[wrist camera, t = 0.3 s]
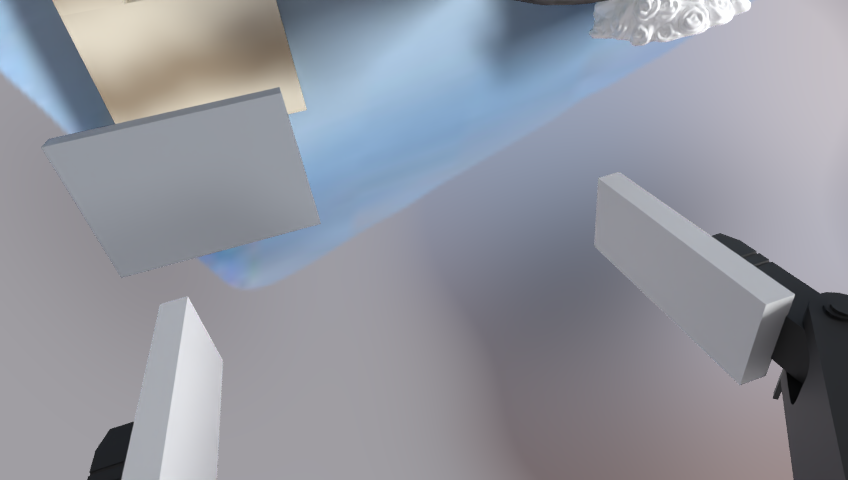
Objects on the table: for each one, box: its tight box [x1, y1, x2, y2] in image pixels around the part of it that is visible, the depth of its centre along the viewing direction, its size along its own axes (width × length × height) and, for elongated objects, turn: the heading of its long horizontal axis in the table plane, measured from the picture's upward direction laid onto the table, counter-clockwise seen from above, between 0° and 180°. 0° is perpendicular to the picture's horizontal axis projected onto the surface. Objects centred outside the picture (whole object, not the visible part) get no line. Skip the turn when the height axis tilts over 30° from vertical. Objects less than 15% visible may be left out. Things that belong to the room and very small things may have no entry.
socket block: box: [52, 0, 307, 124], centre depth 32 cm, size 16×12×4 cm
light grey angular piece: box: [41, 87, 321, 278], centre depth 30 cm, size 7×10×16 cm
